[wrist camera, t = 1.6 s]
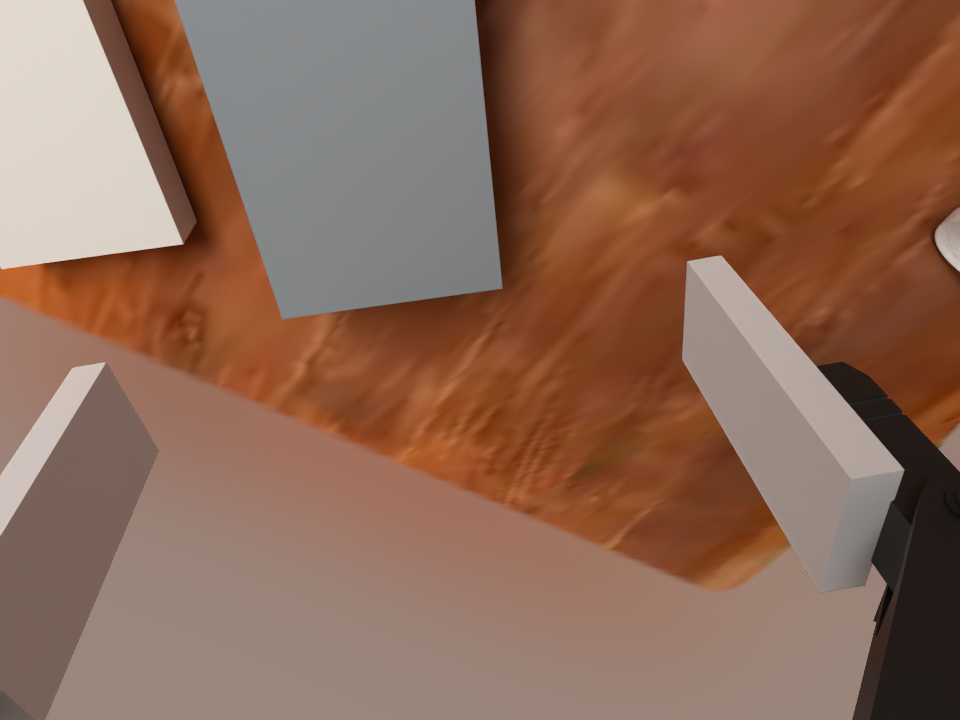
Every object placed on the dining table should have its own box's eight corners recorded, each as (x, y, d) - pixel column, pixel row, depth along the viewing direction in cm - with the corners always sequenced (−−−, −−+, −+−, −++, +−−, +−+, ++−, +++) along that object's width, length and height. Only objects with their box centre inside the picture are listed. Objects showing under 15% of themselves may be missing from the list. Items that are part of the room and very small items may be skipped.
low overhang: (147, -232, 27) (87, -257, 22) (437, -269, 27) (445, -303, 22) (297, 262, 41) (282, 319, 36) (489, 235, 41) (502, 288, 36)
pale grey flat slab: (-160, -83, 29) (-211, -79, 27) (67, -113, 29) (37, -111, 27) (26, 244, 39) (1, 269, 36) (197, 221, 39) (183, 244, 36)
